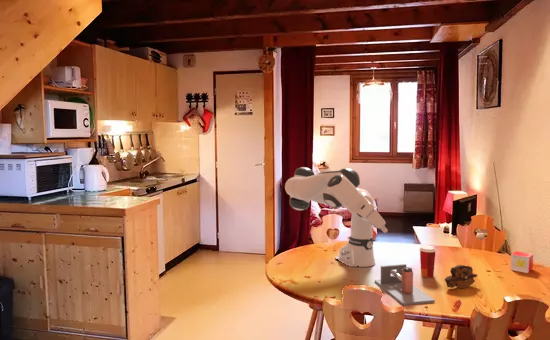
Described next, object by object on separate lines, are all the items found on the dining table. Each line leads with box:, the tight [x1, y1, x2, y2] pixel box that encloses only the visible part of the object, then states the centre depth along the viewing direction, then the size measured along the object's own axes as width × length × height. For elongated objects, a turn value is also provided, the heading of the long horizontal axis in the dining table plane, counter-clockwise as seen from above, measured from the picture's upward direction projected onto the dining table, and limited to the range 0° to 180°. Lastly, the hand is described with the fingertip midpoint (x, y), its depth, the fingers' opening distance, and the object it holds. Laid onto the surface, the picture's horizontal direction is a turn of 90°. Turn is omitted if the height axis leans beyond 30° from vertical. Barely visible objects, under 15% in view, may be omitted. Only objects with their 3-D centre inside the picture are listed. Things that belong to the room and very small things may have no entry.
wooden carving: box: [444, 264, 478, 289], centre depth 199 cm, size 16×5×10 cm, turn 114°
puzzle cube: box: [510, 250, 534, 274], centre depth 222 cm, size 8×8×8 cm
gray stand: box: [374, 263, 436, 306], centre depth 195 cm, size 28×14×9 cm, turn 11°
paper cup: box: [418, 245, 437, 278], centre depth 215 cm, size 8×8×14 cm
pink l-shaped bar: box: [391, 266, 414, 294], centre depth 198 cm, size 19×4×10 cm, turn 11°
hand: (381, 229), depth 186 cm, fingers open, 8 cm apart
